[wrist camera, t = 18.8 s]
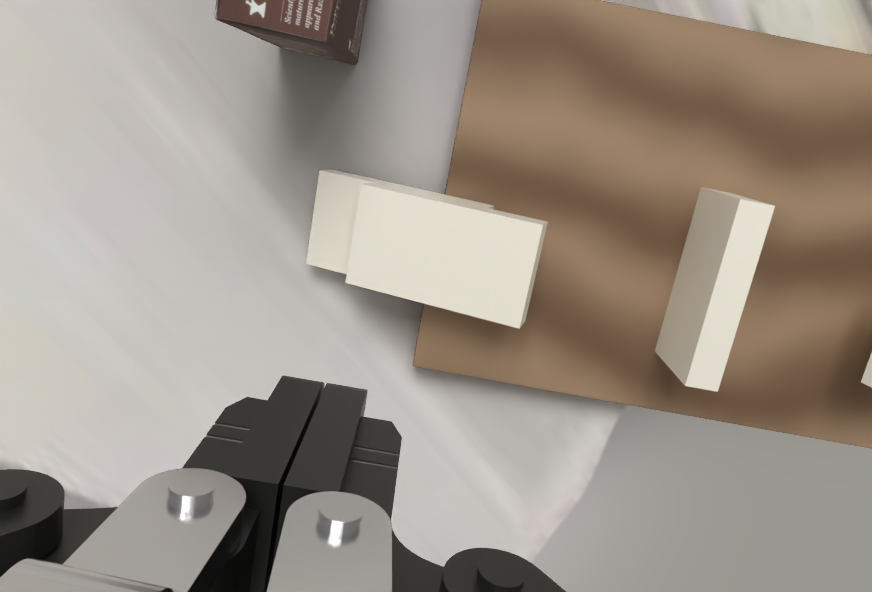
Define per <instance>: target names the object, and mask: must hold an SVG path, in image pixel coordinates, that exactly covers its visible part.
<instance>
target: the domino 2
mask: <svg viewBox="0 0 872 592" xmlns="http://www.w3.org/2000/svg"><path fill="white" fill-rule="evenodd" d="M547 224H548V222H547V221H543V220H538V219H534V218H529V217H525V216H520V215H516V214H511V213H507V212H503V211H498V210H494V209H489V208H485V207H480V206H476V205H471V204H467V203H462V202H458V201H453V200H449V199H445V198H440V197H436V196H431V195H427V194H422V193H418V192H413V191H409V190H404V189H400V188H395V187H391V186H387V185H382V184H378V183H365V184H361V188H360V194H359V200H358V207H357V213H356V219H355V226H354V232H353V238H352V244H351V251H350V257H349V263H348V270H347V276H346V282H345V283H348V284H352V285H355V286H359V287H363V288H367V289H371V290H374V291H378V292H382V293H386V294H390V295H393V296H397V297H401V298H405V299H409V300H412V301H416V302H420V303H424V304H428V305H431V306H435V307H439V308H443V309H447V310H450V311H454V312H458V313H462V314H466V315H469V316H473V317H477V318H481V319H485V320H488V321H492V322H496V323H500V324H504V325H507V326H511V327H515V328H519V329H520V327H521V326H522V325H523V323H524V322H525V320H526V316H527V311H528V307H529V303H530V298H531V294H532V289H533V285H534V281H535V276H536V272H537V267H538V263H539V259H540V254H541V250H542V246H543V241H544V237H545V232H546V228H547Z"/></svg>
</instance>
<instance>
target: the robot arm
mask: <svg viewBox="0 0 872 592" xmlns="http://www.w3.org/2000/svg"><path fill="white" fill-rule="evenodd" d="M366 398H367V390H365V389H359V388H353V387H347V386H342V385H336V384H330V383H327V384H326V386H325V388H324V383H323V382H318V381H312V380H306V379H300V378H294V377H289V376H282V377H281V379H280V381H279V382H278V384H277V386H276V387H275V389H274V391H273V392H272V394H271V396H270V397H269V399H268V401H267V400H261V399H255V398H250V397H246V398H244V399H242V400H240V401H238V402H236V403H234V404H232V405H230V406H228V407H226V408H225V410H224V411H223V412H222V414H221V415H220V416H219V418H218V419H217V421H216V422H215V425H213V426H212V428H211V429H210V430H209V432H208V433H207V436H206V437H204V439H203V440H202V441H201V443H200V444H199V446H198V447H197V448H196V450H195V451H194V452H193V454H192V455H191V457H190V458H189V459H188V461H187V462H186V464H185V465H184V466H183V468H182V469H175V470H170V471H165V472H162V473H159V474H156V475H154V476H152V477H150V478H148V479H147V480H145V481H144V482H143V483H141V484H140V485H139V486H138V487H137V488H136V489H135V490H134V491H133V492H132V493H131V494H130V495H129V496H128V497H127V498H126V499H125V501H124V502H123V503H122V504H121V505H120V506H119V507H114V508H95V509H64V489H63V487H62V485H61V484H60V483H59V482H58V481H57V480H55V479H54V478H52V477H50V476H48V475H45V474H42V473H39V472H34V471H29V470H14V469H8V470H0V592H566V591H564V590H563V589H562V588H561V587H560V586H559V585H557V584H556V583H555V582H554V581H553V580H551V579H550V578H549V577H548V576H547V575H546V574H544V573H543V572H542V571H541V570H540V569H538V568H537V567H536V566H534V565H533V564H532V563H530V562H528V561H527V560H525V559H523V558H521V557H519V556H517V555H515V554H512V553H509V552H506V551H502V550H498V549H490V548H473V549H468V550H464V551H461V552H459V553H456V554H455V555H453V556H452V557H451V558H450V559H449V560H448V561H447V562H446V564H445V566H444V567H442V566H439V565H437V564H434V563H432V562H429V561H427V560H425V559H423V558H421V557H419V556H417V555H416V554H414V553H412V552H411V551H410V550H408V549H407V548H406V547H405V546H404V545H403V544H402V543H400V541H399V540H398V539H397V537H396V536H395V534H394V532H393V530H392V524H391V515H392V508H393V500H394V493H395V485H396V477H397V470H398V462H399V454H400V447H401V439H402V437H401V435H400V434H399V432H398V431H397V429H396V428H395V426H394V424H393V423H392V422H391V421H385V420H379V419H373V418H367V417H363V416H364V410H365V404H366Z"/></svg>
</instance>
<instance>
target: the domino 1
mask: <svg viewBox="0 0 872 592" xmlns="http://www.w3.org/2000/svg"><path fill="white" fill-rule="evenodd" d="M365 183H378V184H382V185H387V186H391V187H395V188H400V189H404V190H409V191H413V192H418V193H422V194H427V195H431V196H436V197H440V198H445V199H449V200H453V201H458V202H462V203H467V204H471V205H476V206H480V207H485V208H489V209H493V208H494V205H489V204H485V203H480V202H476V201H471V200H467V199H462V198H458V197H454V196H449V195H445V194H440V193H436V192H431V191H427V190H422V189H418V188H413V187H409V186H404V185H400V184H395V183H391V182H387V181H382V180H378V179H373V178H369V177H364V176H360V175H355V174H351V173H346V172H342V171H337V170H333V169H332V170H319V177H318V184H317V191H316V198H315V205H314V212H313V219H312V225H311V232H310V239H309V246H308V253H307V260H306V264H309V265H312V266H316V267H320V268H324V269H328V270H332V271H335V272H339V273H343V274H347V270H348V263H349V257H350V251H351V244H352V238H353V232H354V226H355V219H356V213H357V207H358V200H359V194H360V188H361V184H365Z"/></svg>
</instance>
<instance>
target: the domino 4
mask: <svg viewBox="0 0 872 592" xmlns="http://www.w3.org/2000/svg"><path fill="white" fill-rule="evenodd" d="M861 383H863V384H865V385H867V386H869V387H871V388H872V353H871V355H870V358H869V361H868V364H867V366H866V369H865V372H864V375H863V377H862V380H861Z"/></svg>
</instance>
